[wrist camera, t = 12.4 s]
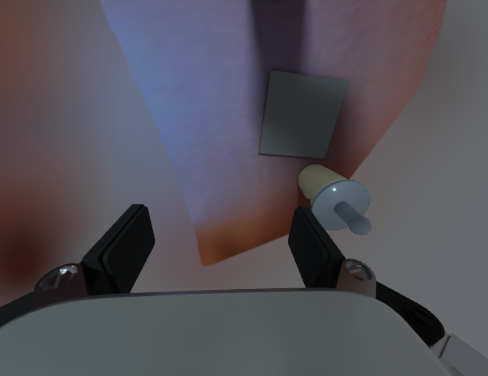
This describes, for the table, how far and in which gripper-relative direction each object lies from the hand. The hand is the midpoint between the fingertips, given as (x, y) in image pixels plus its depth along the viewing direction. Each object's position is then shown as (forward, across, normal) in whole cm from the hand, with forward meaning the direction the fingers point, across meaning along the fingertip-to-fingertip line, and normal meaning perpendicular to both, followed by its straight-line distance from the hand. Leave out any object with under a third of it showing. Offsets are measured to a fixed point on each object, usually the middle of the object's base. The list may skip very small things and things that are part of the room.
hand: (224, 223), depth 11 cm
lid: (+18, -22, +10) cm, 30 cm away
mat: (+30, -15, -4) cm, 34 cm away
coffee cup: (+30, -22, +10) cm, 38 cm away
